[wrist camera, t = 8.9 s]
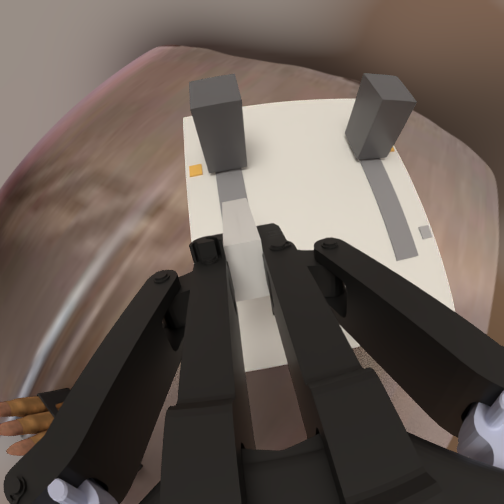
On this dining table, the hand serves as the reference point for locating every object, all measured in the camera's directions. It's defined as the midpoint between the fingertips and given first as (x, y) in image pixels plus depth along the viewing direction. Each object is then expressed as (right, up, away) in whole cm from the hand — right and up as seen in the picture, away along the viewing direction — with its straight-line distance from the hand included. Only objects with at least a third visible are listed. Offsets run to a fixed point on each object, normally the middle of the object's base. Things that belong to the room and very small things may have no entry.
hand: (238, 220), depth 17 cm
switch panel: (+6, +2, +8) cm, 11 cm away
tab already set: (+12, +9, +8) cm, 17 cm away
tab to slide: (-2, +7, +7) cm, 10 cm away
